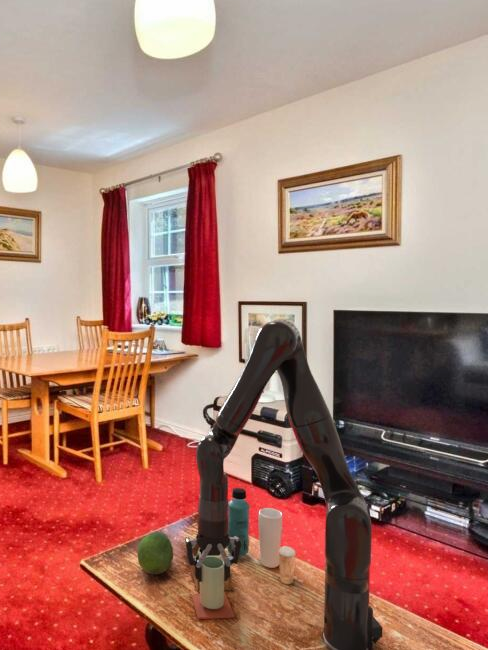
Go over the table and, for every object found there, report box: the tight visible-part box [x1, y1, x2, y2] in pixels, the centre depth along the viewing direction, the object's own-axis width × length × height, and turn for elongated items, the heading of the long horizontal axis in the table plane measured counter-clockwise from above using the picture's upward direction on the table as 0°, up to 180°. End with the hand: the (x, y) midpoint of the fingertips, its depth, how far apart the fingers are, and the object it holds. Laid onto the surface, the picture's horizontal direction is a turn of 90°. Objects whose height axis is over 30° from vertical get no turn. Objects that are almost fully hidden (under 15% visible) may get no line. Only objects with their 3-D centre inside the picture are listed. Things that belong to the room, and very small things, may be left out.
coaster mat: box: [190, 592, 236, 620], centre depth 123 cm, size 9×9×1 cm
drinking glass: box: [257, 507, 284, 569], centre depth 142 cm, size 7×7×15 cm
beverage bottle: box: [226, 487, 250, 557], centre depth 146 cm, size 6×7×20 cm
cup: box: [199, 556, 225, 609], centre depth 122 cm, size 6×6×10 cm
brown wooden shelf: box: [185, 543, 232, 593], centre depth 138 cm, size 9×17×4 cm, turn 5°
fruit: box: [137, 531, 174, 575], centre depth 140 cm, size 15×10×10 cm, turn 164°
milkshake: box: [279, 545, 298, 585], centre depth 133 cm, size 4×5×10 cm
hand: (212, 579), depth 122 cm, fingers closed on cup, 6 cm apart
